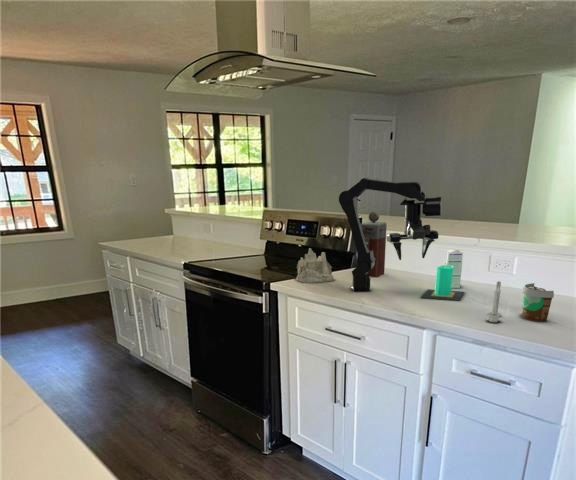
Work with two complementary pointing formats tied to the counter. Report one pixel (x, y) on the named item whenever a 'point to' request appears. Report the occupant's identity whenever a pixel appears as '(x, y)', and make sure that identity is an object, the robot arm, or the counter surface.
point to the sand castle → (314, 268)
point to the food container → (536, 302)
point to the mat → (454, 296)
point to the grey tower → (455, 266)
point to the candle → (443, 280)
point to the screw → (495, 305)
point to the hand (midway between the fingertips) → (411, 259)
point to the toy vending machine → (375, 242)
